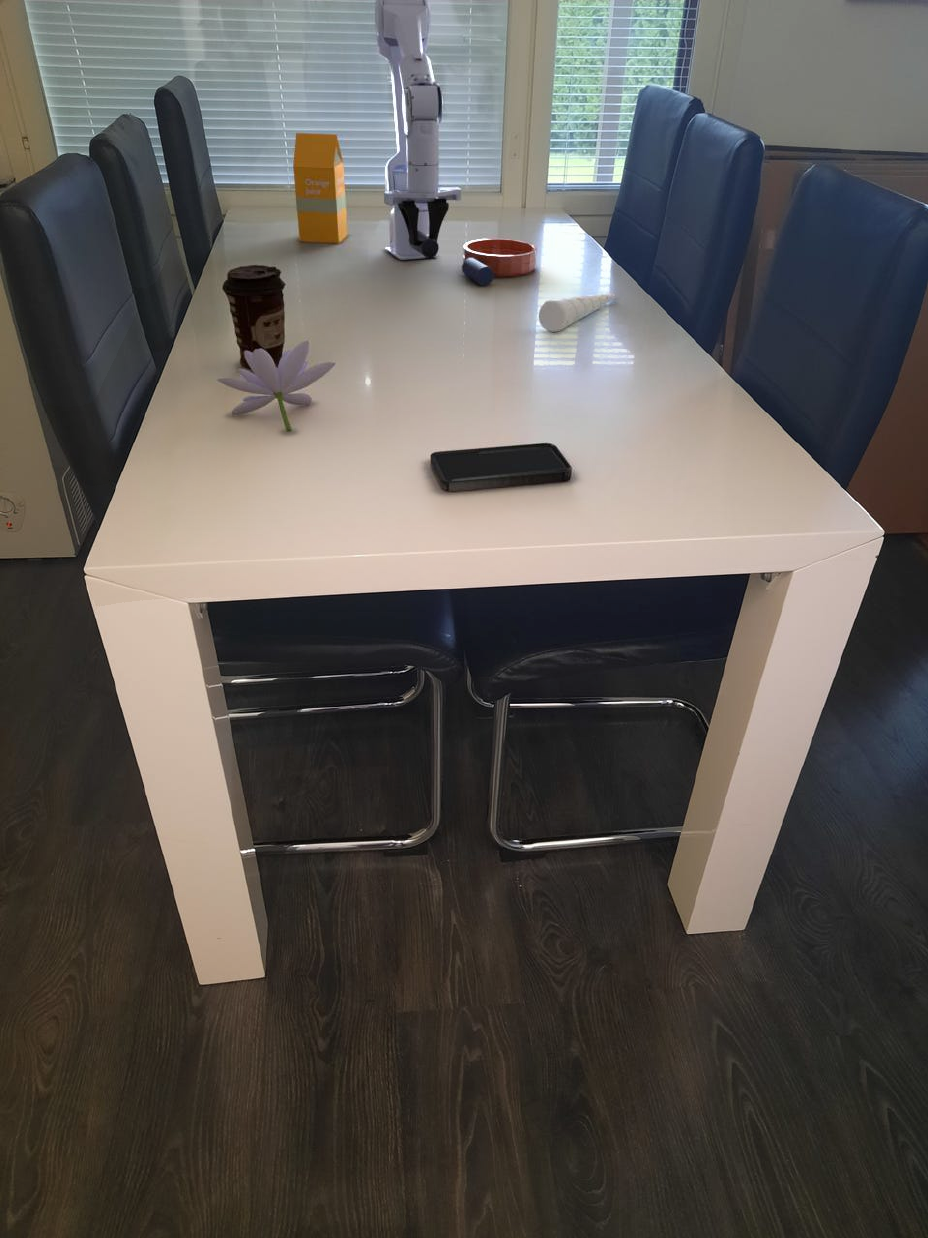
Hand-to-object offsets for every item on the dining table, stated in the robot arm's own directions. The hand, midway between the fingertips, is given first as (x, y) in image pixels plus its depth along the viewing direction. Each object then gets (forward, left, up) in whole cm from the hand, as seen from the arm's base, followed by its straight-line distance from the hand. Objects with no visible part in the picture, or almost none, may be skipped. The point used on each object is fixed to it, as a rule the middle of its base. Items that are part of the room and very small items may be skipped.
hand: (423, 243), depth 162 cm
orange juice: (-34, -10, -6) cm, 36 cm away
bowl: (+2, +15, -5) cm, 16 cm away
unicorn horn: (+34, +15, -6) cm, 38 cm away
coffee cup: (+39, -40, -6) cm, 56 cm away
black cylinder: (0, 0, -2) cm, 2 cm away
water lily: (+58, -42, -6) cm, 72 cm away
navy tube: (+9, +6, -4) cm, 11 cm away
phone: (+82, -23, -5) cm, 85 cm away
